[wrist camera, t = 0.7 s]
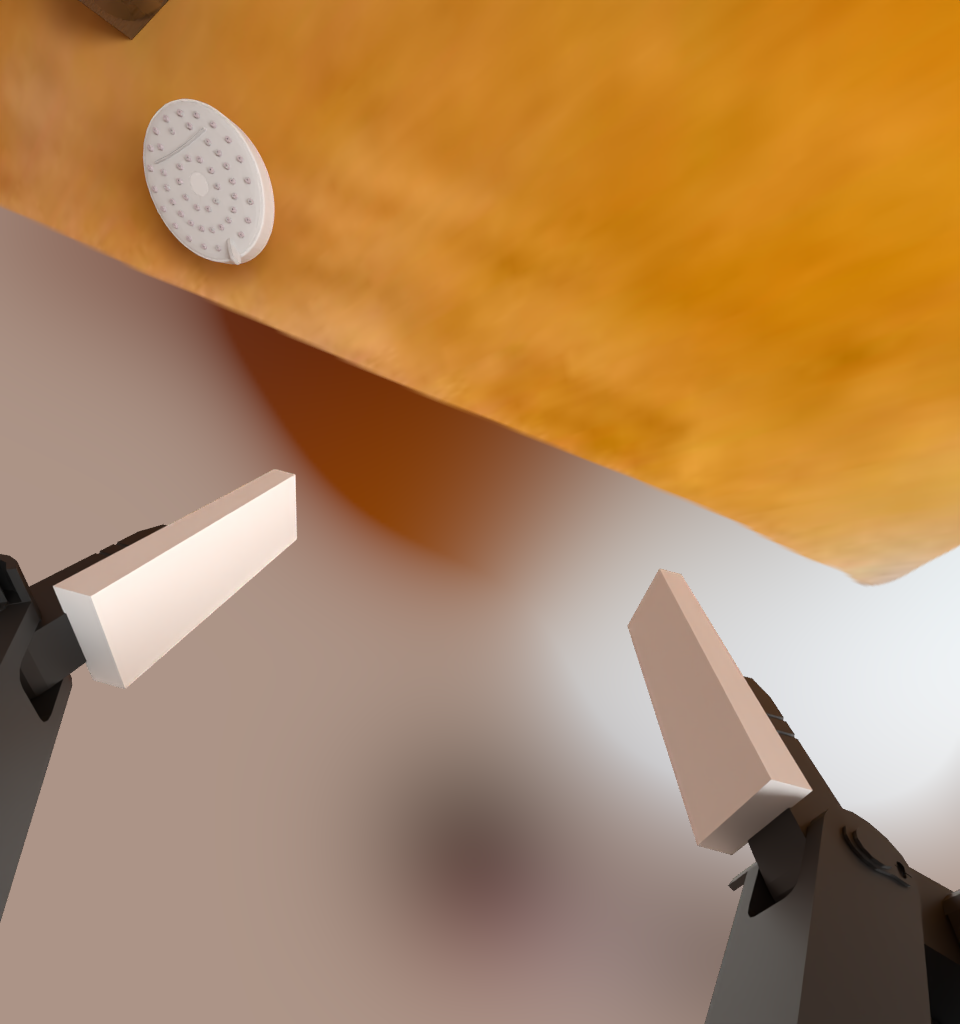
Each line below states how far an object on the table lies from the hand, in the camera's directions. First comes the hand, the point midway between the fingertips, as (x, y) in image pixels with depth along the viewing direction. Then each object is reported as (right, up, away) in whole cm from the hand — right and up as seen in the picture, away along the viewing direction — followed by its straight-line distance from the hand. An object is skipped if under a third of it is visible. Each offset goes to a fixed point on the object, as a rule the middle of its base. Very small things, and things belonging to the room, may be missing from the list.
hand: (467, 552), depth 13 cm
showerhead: (-19, +28, +20) cm, 40 cm away
